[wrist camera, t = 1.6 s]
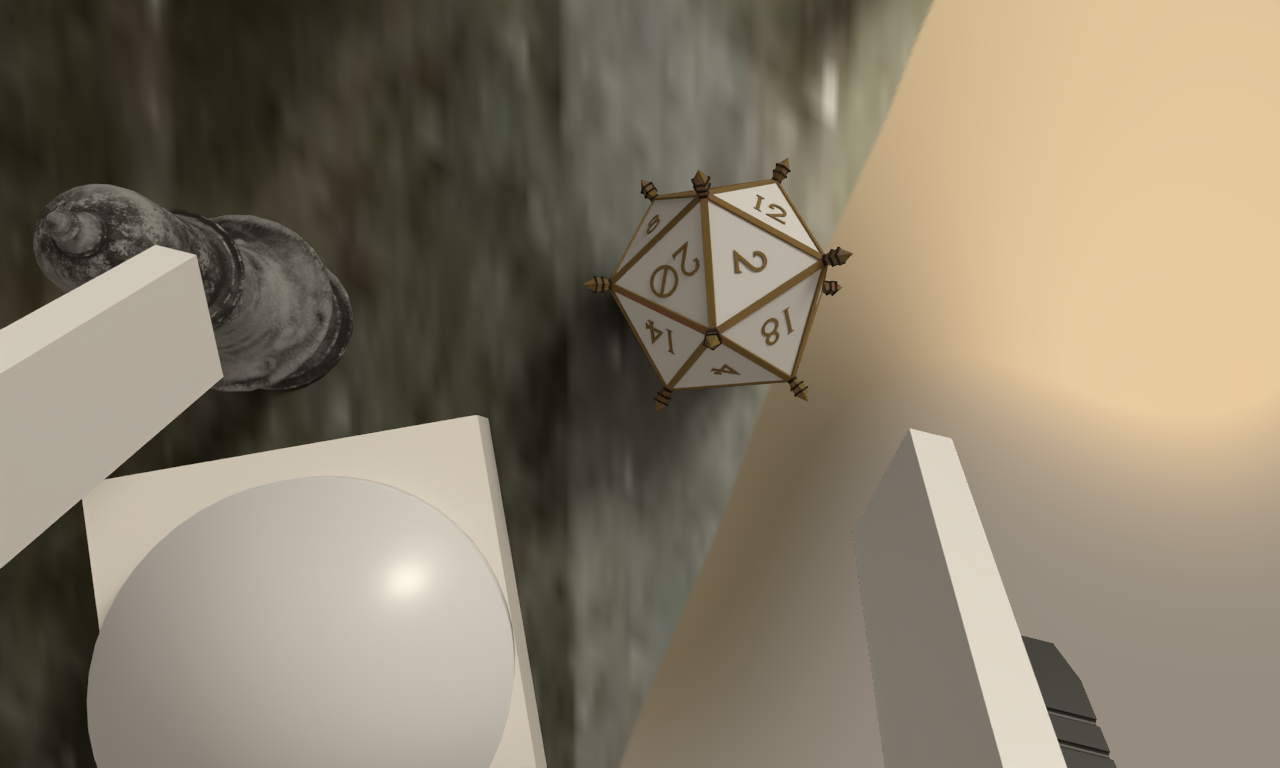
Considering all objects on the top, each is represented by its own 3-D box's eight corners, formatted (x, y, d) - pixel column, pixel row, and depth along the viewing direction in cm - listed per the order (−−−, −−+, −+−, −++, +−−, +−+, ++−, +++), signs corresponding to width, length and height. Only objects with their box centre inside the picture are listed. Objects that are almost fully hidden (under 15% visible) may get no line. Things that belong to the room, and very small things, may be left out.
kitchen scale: (155, 476, 25) (56, 485, 20) (488, 418, 26) (473, 413, 21) (211, 884, 24) (123, 1000, 19) (551, 796, 26) (552, 882, 21)
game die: (678, 366, 31) (644, 501, 23) (587, 199, 28) (507, 281, 20) (870, 289, 28) (916, 413, 20) (791, 92, 25) (802, 134, 16)
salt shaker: (293, 429, 25) (69, 421, 14) (161, 335, 25) (-188, 242, 13) (393, 306, 26) (264, 197, 14) (266, 214, 26) (27, 23, 14)
